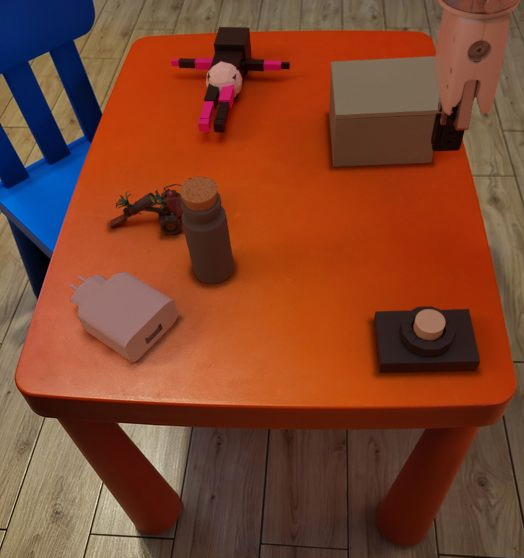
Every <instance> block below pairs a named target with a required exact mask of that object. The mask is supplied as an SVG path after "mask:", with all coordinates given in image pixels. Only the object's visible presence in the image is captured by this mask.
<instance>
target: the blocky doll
mask: <svg viewBox="0 0 524 558" xmlns="http://www.w3.org/2000/svg"><path fill="white" fill-rule="evenodd" d="M251 43H252V42H251V31H250V27H245V26H244V27H241V26H218V30H217V33H216V35H215V39H214V41H213V49H214V55H213V57H196V58H188V57H187V58H185V57H183V58H182V57H179V58H171V59H170V65H171V67H178V68H179V69H195V70H197V71H207V73H206V78H205V79H206V80H205V87H206V91H205V95H204V98H203V100H204V101H203V102H204V103H203V106H202V109H201V111H200V115H199V119H198V122H197V127H198V132H201V133H210V132H211V128H212V127H211V125H213V132H214V133H221V134H222V133H223V134H225V132H226V127H227V123H228V118H229V114H230V111H231V110H232V107H233V103H234V100H238V98H239V96H240V95H239V94H240V93H241V91H242V85H243V80H244V75H248V72H264V71H269V72H270V71H271V72H273V71H274V72H281V71H282V70H290V69H291V63H290V61H282V60H267V59H266V60H265V59H261V58H252V45H251ZM215 110H216V114H215V118H214V120H213V116H214V113H215ZM212 120H213V123H212Z"/></svg>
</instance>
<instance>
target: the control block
mask: <svg viewBox="0 0 524 558" xmlns="http://www.w3.org/2000/svg"><path fill="white" fill-rule="evenodd" d="M426 309H432V310H436V311H438V312H440V313H441V314H442V315H443V316H444V318H445V327H444V330H443V333H442V335H441V336H440V337H439V338H438V339H436V340H433V341H426V340H423V339H421V338H419V337H418V336H417V335H416V334H415V332H414V329H413V326H414V322H415V318H416V315H417V314H418V313H419V312H420V311H422V310H426ZM373 328H374V336H375V346H376V355H377V363H378V372H379V373H423V372H425V373H426V372H466V371H467V372H468V371H469V372H470V371H472V372H473V371H475V372H476V371H477V369H478V368H479V365H480V363H481V359H480V354H479V348H478V345H477V340H476V335H475V331H474V326H473V322H472V316H471V312H470V309H469V308H454V309H453V308H452V309H451V308H450V309H440V308H438V307H435V306H431V305H429V306H428V305H427V306H425V305H424V306H416V307H415V308H413V309H411V310H379V311H377V310H376V311H375V312H374V317H373Z"/></svg>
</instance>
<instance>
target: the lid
mask: <svg viewBox="0 0 524 558" xmlns="http://www.w3.org/2000/svg"><path fill="white" fill-rule="evenodd" d="M331 73H332V85H333V97H334V109H335V119H352V118H373V117H394V116H415V115H436V113H442V112H438V101H439V95H440V94H439V90H438V84H437V79H436V73H435V55H430V56H429V55H427V56H412V57H393V58H391V57H390V58H378V59H377V58H375V59H373V58H372V59H356V60H355V59H354V60H353V59H352V60H337V61H336V60H335V61H330V74H331Z"/></svg>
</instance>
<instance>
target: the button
mask: <svg viewBox="0 0 524 558" xmlns="http://www.w3.org/2000/svg"><path fill="white" fill-rule="evenodd" d="M444 327H445V318H444V316H443V315H442V314H441V313H440V312H438V311H436V310H432V309H426V310H422V311H420V312H419V313H418V314H417V315H416V318H415V322H414V326H413V329H414V332H415V334H416V335H417V336H418V337H419V338H421V339H423V340H426V341H433V340H436V339H438V338H439V337H440V336H441V335H442V333H443V330H444Z"/></svg>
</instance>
